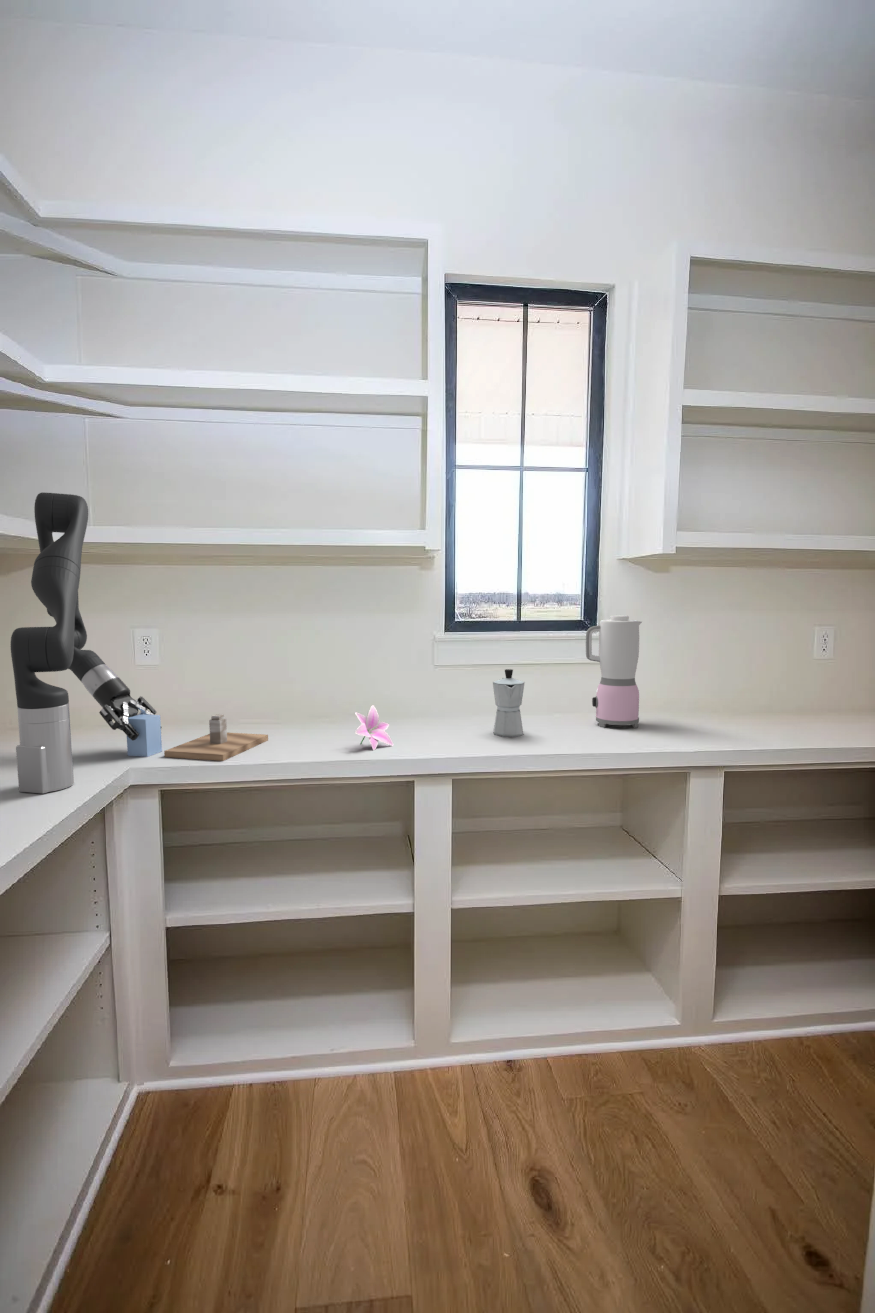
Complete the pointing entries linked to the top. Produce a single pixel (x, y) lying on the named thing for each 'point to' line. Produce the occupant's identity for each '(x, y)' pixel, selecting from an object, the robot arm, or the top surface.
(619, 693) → the blender
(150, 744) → the light blue block
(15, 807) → the top surface
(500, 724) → the coffee maker
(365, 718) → the lily
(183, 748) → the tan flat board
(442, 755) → the top surface
